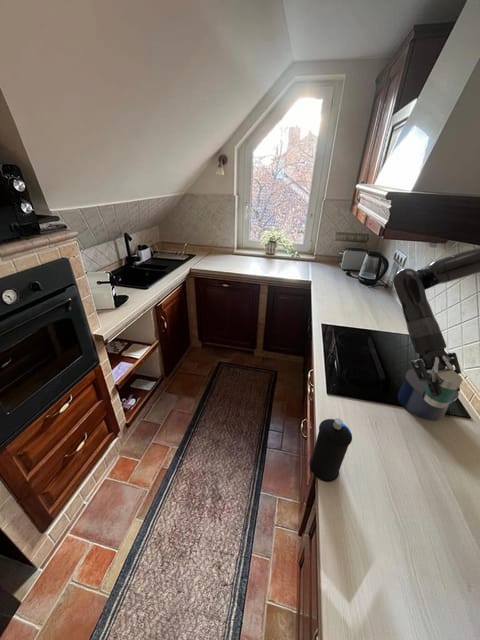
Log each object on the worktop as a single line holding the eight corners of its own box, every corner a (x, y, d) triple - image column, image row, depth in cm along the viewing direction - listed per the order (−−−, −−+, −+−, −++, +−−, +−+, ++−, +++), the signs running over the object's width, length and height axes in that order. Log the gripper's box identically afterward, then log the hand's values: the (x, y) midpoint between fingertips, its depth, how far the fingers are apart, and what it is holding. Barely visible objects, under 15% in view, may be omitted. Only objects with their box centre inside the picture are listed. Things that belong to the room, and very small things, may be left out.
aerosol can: (327, 488, 68) (345, 442, 58) (303, 465, 74) (315, 419, 64) (344, 469, 73) (362, 423, 63) (320, 448, 78) (333, 403, 68)
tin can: (445, 396, 74) (459, 371, 70) (449, 411, 70) (465, 386, 65) (420, 389, 77) (433, 365, 72) (423, 403, 72) (437, 378, 67)
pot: (441, 394, 99) (452, 374, 94) (450, 431, 85) (465, 410, 80) (395, 381, 105) (404, 362, 100) (397, 413, 91) (407, 392, 85)
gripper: (416, 335, 68) (439, 399, 64) (456, 328, 72) (480, 388, 68) (395, 340, 75) (414, 398, 71) (432, 334, 79) (452, 388, 75)
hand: (446, 393), depth 70 cm, fingers closed on tin can, 6 cm apart
